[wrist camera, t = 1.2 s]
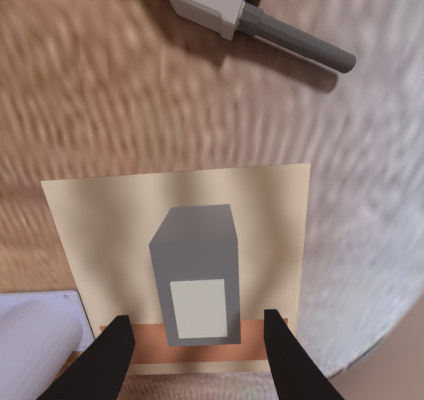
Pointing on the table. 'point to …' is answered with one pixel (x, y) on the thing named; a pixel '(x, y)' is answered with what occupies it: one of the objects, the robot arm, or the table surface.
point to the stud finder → (198, 275)
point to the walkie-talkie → (261, 29)
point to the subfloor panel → (142, 264)
